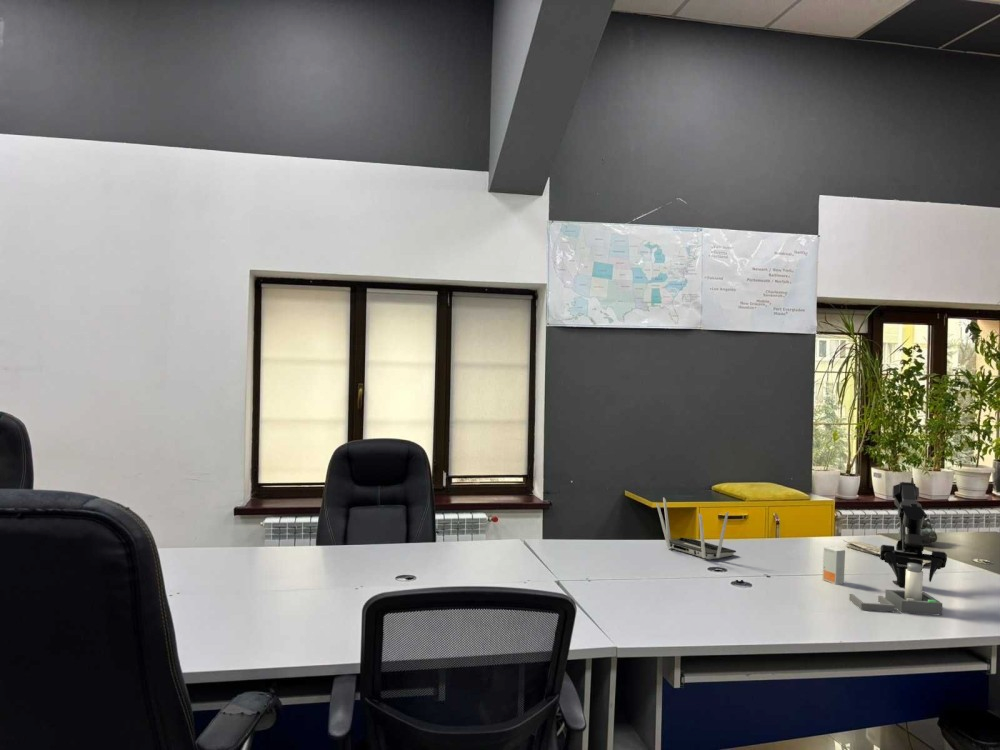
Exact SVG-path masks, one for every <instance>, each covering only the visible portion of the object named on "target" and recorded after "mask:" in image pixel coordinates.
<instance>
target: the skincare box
mask: <svg viewBox="0 0 1000 750" xmlns="http://www.w3.org/2000/svg"><path fill="white" fill-rule="evenodd" d="M822 555H823V557H822V559H823V560H822V562H823V563H822V580H823V581H826V582H829V583H831V584H834V585H841V584H844V583H845V567H846V566H845V564H846V563H845V562H846V550H845V549H842V548H840V547H835V546H830V545H829V546H824V547H823V554H822Z"/></svg>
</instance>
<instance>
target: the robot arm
mask: <svg viewBox="0 0 1000 750" xmlns="http://www.w3.org/2000/svg"><path fill="white" fill-rule="evenodd" d="M891 496H892V497H891V498H892V499H894V505H895V506H896V508H897V518H898V519H899V522H900V533H899V539H898V540H897V543H896V544H895V545H896V546H895V545H890V544H889V545H887V544H882V545H880V547H881V549H880V556H879V560H881V561H884V563H887V564H888V566H890V568H891V569H892V572H893V574H894V575H895V577H896V580H892V583H893V584H894V585H896V586H898V587H900V588H905V576H906V569H907V563H917V564H920V565H923V560H926V561H931V565H930V566H929V574H928V575H929V576H928V581H929V583H931V582H932V579H933V577H934V575H935V573H936V572H937V570H941V568H942V569H943V568H946V565H947V562H948V555H947V553H946V552H945V551H941V550H931V554H928V553H923V552H924V548H925V547H924V545H925V546H929V545H930V544H931V543H930V536H929V534H923V535H921V527H922V525H923V520H925V519H926V518H928V515H927V513H926V512H925V509H923V507H922V504H921V503H920V502H917V501H919V498H920V487H918V486H917V485H916V483H914V482H909V481H907V482H905V481H900V482H899V483H898V484H895V485H893V486H892V495H891ZM923 566H924V565H923Z"/></svg>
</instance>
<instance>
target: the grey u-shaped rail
mask: <svg viewBox="0 0 1000 750" xmlns="http://www.w3.org/2000/svg"><path fill="white" fill-rule="evenodd" d="M848 597H849V598H848V599H849V601H850V602H851V601H852V602H851V603H852V604H853V605H854V606H856V607H857V606H858V607H859V610H861V611H872V610H875V612H887V611H895V609H896V608H895V605H893V604H892V603H891V602H889V601H888V600H887V599H885V597H884V596H883V595H878V597H877V602H878V603H876V602H875V603H873V602H863V601H862V600H861V599H860V598H858V596H856V595H855V594H853V593H849V596H848ZM879 602H880V603H879ZM858 607H857V608H858ZM895 612H896V611H895Z"/></svg>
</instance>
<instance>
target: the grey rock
mask: <svg viewBox="0 0 1000 750" xmlns="http://www.w3.org/2000/svg"><path fill="white" fill-rule="evenodd" d="M931 523H932V522H931V519H930V518H928V517H927V518H925V520H923V525H922V527H921V535H923V534H929V536H930V544H931V543H935V542H937V540H938V534H937V533H936V531H935V530H933V525H932V524H931ZM895 526H896V527H897V531H898V532H899V534H900V521H898V522H897V523H896V525H895Z"/></svg>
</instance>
